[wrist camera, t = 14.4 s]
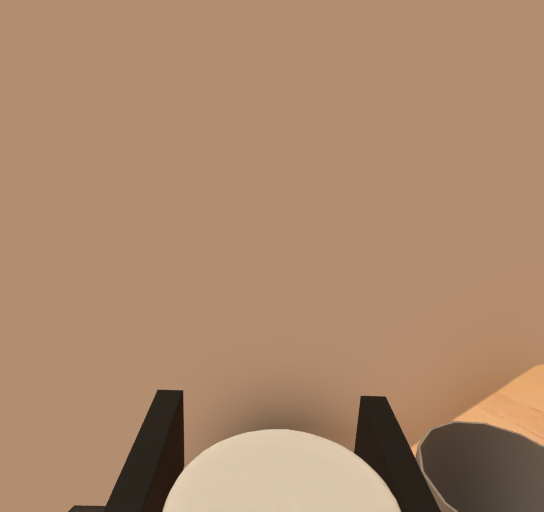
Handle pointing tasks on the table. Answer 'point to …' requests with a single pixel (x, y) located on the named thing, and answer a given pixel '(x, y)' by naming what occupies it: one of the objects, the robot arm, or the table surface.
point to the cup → (482, 468)
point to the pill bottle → (279, 477)
